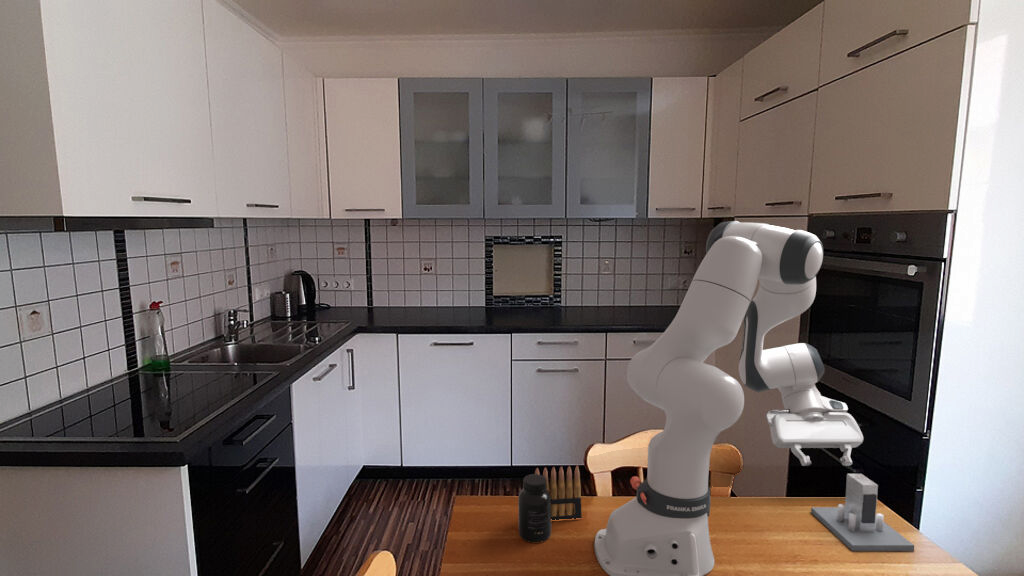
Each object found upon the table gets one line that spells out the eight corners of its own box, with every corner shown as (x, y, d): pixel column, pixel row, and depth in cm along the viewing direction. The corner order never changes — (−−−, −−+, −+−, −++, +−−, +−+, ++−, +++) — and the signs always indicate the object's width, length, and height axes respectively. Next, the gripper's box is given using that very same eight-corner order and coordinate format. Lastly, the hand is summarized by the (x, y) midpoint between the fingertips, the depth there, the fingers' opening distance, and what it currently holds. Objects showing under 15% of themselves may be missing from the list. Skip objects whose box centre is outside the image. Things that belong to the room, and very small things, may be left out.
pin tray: (852, 551, 100) (853, 529, 99) (811, 512, 114) (812, 493, 113) (913, 551, 100) (915, 529, 99) (865, 512, 114) (866, 493, 113)
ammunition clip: (579, 515, 113) (580, 463, 112) (581, 519, 111) (582, 467, 110) (532, 518, 112) (532, 466, 111) (533, 523, 110) (533, 470, 109)
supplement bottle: (515, 527, 109) (515, 473, 107) (546, 523, 110) (546, 469, 109) (522, 546, 102) (522, 488, 101) (555, 541, 103) (555, 485, 102)
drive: (860, 532, 104) (863, 485, 103) (844, 518, 109) (847, 473, 108) (875, 532, 104) (878, 485, 103) (858, 518, 109) (861, 473, 108)
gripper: (768, 403, 124) (787, 460, 115) (852, 403, 124) (878, 459, 115) (758, 415, 129) (776, 469, 120) (840, 414, 129) (863, 469, 120)
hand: (827, 464), depth 118 cm, fingers open, 8 cm apart
